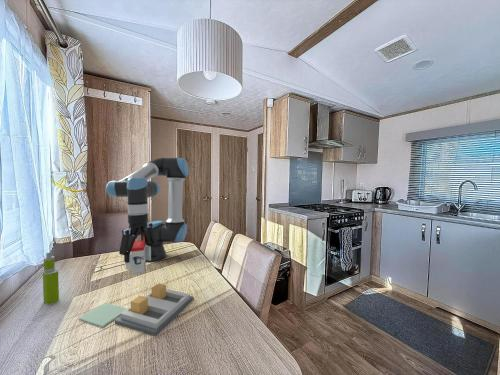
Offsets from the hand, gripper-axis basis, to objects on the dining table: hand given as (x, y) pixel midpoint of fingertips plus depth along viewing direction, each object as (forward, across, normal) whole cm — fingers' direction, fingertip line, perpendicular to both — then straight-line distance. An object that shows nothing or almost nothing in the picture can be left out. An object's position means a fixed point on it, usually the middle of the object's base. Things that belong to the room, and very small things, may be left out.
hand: (139, 264), depth 91 cm
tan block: (+13, +1, +11) cm, 17 cm away
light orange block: (+12, +11, +11) cm, 20 cm away
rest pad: (+14, +15, -2) cm, 20 cm away
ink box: (+3, 0, 0) cm, 3 cm away
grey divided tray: (+14, +6, +15) cm, 21 cm away
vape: (+14, +16, -31) cm, 37 cm away
